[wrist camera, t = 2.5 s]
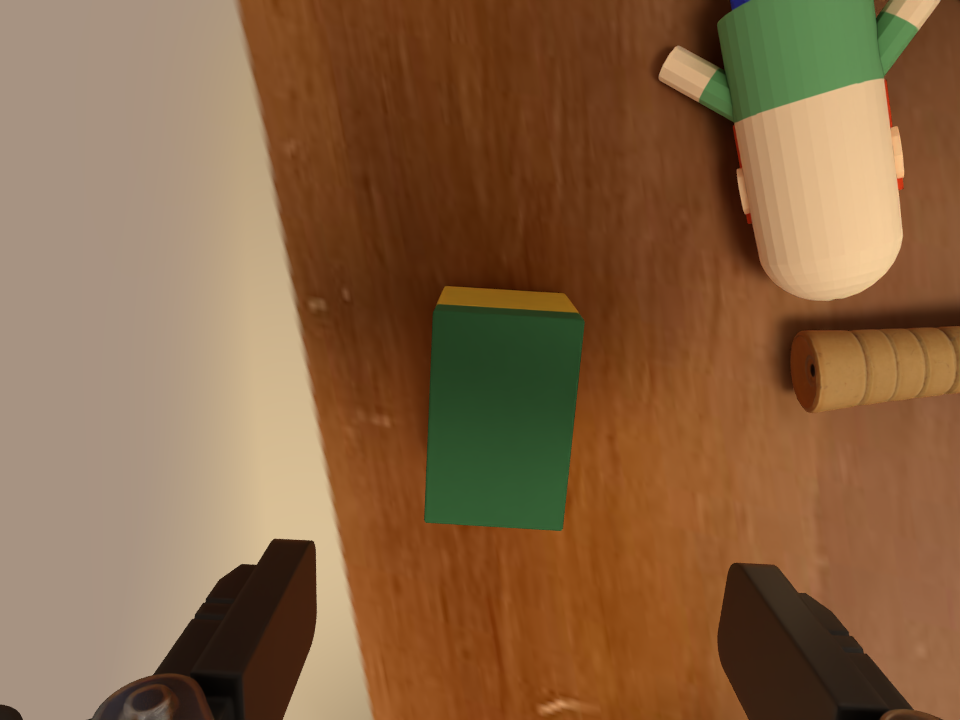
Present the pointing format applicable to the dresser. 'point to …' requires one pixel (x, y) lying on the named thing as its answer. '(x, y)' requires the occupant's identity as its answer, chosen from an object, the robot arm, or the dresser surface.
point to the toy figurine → (812, 133)
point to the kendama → (873, 366)
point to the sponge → (501, 407)
